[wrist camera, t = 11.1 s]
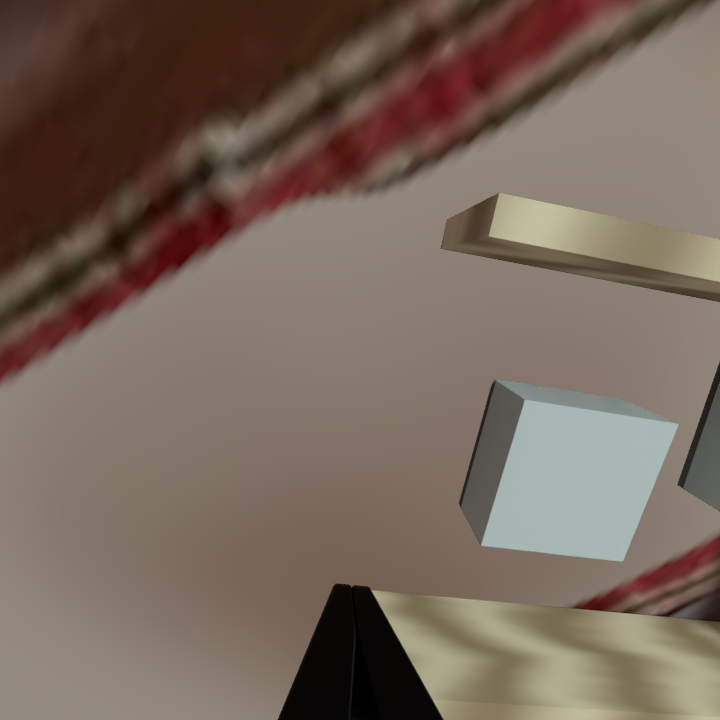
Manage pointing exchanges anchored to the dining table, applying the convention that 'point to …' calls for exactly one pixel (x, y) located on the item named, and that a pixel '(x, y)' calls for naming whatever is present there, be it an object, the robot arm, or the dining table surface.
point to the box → (555, 624)
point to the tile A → (562, 471)
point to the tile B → (705, 452)
